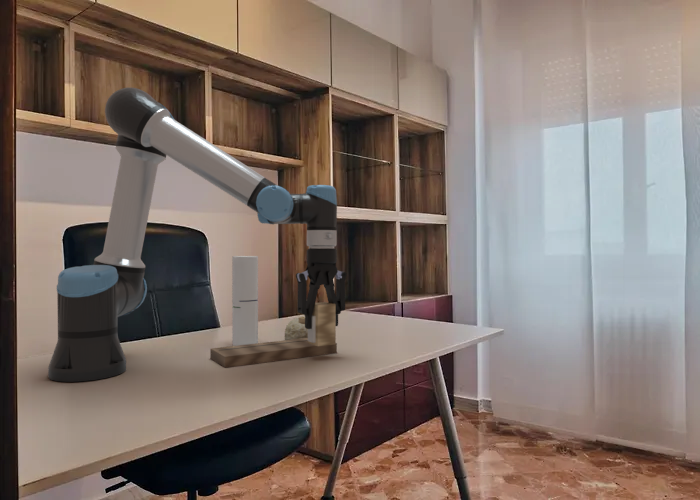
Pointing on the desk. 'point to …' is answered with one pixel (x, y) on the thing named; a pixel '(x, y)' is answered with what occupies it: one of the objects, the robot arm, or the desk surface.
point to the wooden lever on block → (324, 323)
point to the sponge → (295, 330)
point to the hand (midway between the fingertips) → (321, 340)
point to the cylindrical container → (244, 300)
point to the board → (268, 352)
